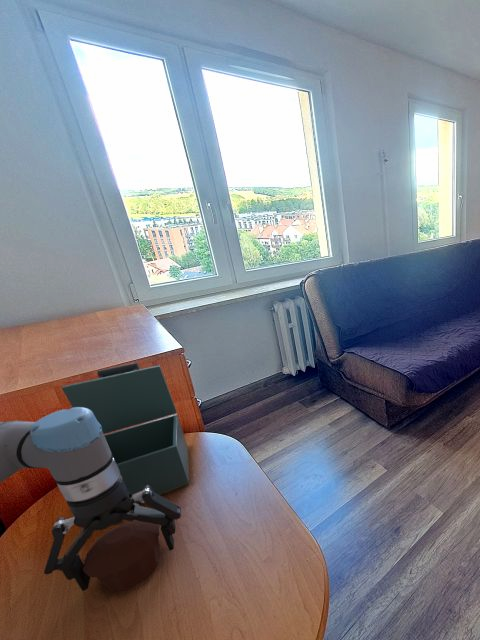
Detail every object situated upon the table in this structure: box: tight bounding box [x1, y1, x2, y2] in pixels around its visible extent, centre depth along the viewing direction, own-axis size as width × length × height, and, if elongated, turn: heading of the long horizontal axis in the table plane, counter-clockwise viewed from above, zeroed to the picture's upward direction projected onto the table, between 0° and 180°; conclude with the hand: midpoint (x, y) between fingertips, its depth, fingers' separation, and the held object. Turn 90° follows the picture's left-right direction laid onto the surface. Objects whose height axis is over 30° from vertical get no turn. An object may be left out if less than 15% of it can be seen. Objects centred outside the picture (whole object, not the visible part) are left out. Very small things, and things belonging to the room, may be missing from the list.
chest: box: [104, 413, 190, 504], centre depth 88 cm, size 16×19×13 cm
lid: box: [61, 362, 178, 435], centre depth 90 cm, size 17×19×8 cm
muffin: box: [83, 520, 161, 593], centre depth 67 cm, size 12×11×10 cm
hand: (131, 563), depth 69 cm, fingers open, 13 cm apart
